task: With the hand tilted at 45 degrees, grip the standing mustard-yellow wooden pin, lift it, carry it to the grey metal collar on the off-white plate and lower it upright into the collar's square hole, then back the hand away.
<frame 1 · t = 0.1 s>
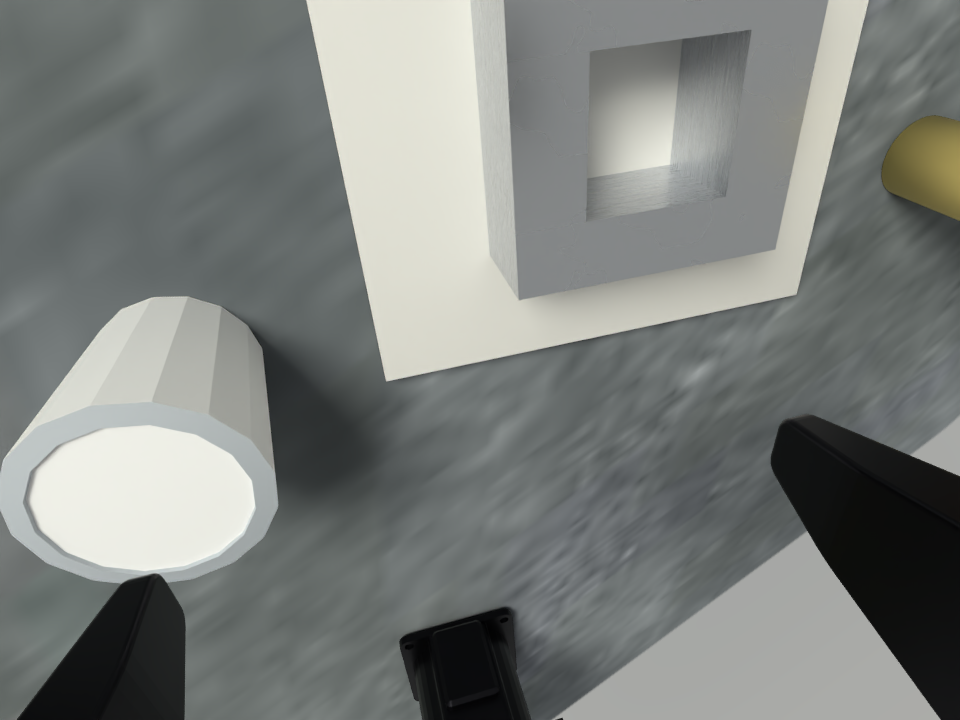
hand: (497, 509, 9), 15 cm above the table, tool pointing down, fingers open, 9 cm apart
base plate: (602, 100, 21), on the table
pin: (917, 156, 25), on the table
white short cylinder: (184, 361, 22), on the table
metal collar: (636, 117, 19), on the base plate, point 2 cm above the table
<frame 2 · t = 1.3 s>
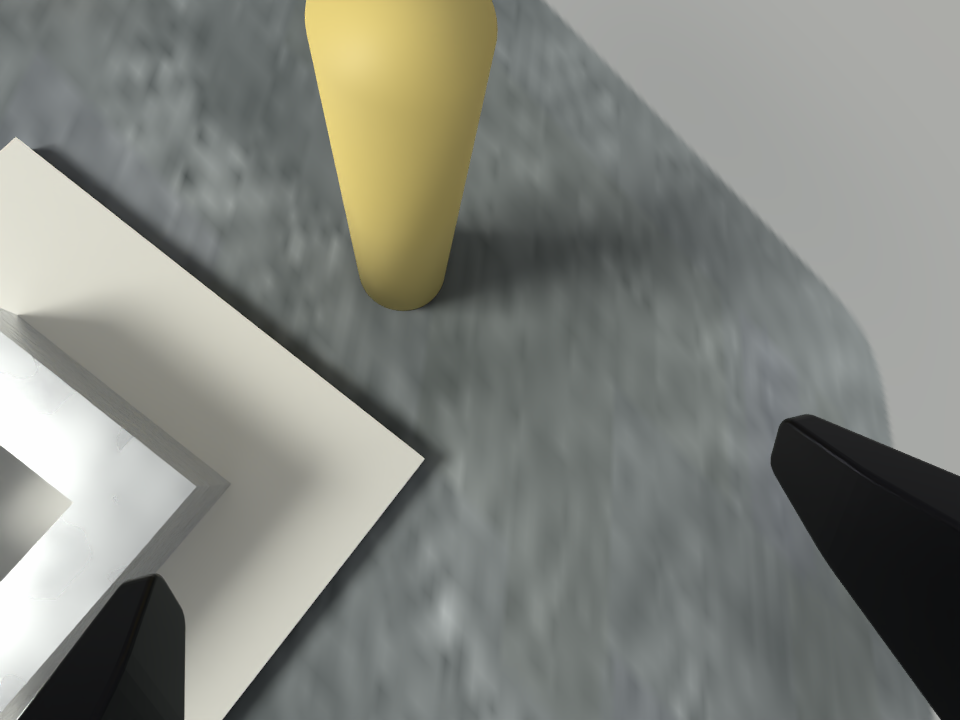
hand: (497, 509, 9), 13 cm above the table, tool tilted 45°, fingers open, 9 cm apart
base plate: (34, 509, 20), on the table
pin: (402, 269, 23), on the table
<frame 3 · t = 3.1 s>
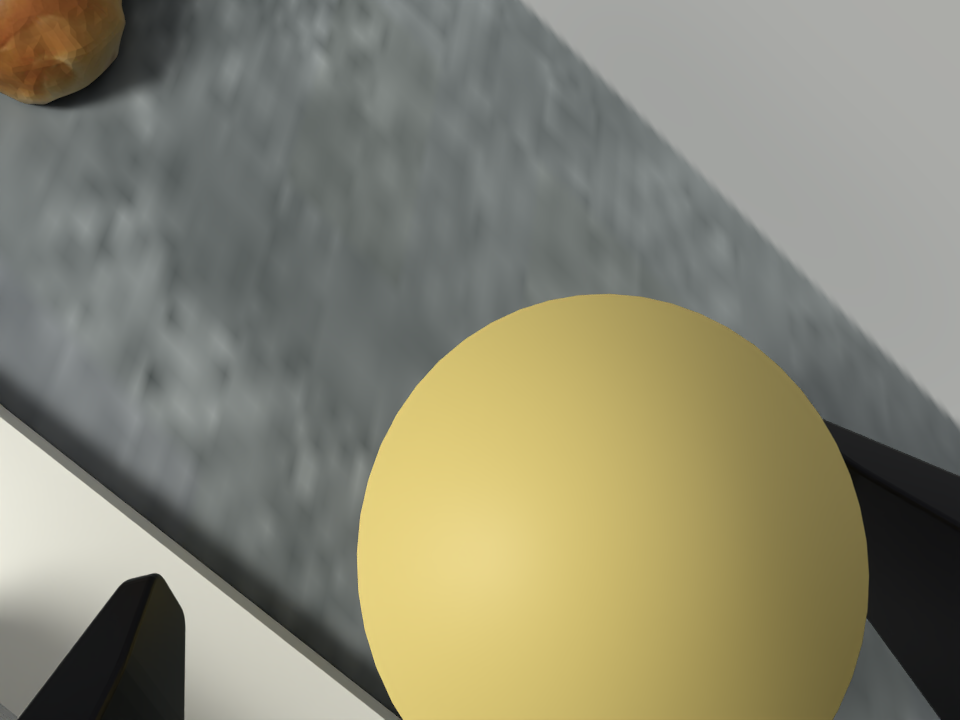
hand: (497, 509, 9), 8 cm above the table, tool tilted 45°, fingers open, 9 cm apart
pin: (454, 499, 16), on the table
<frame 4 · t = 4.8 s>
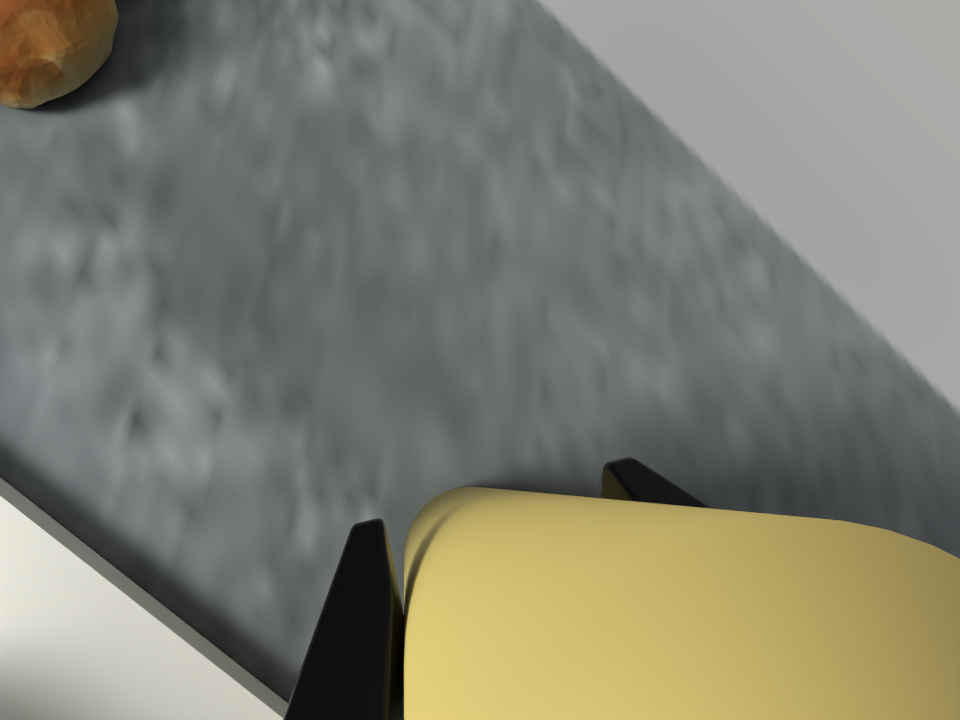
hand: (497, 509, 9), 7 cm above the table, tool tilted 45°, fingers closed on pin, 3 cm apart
pin: (470, 553, 15), on the table, touching gripper
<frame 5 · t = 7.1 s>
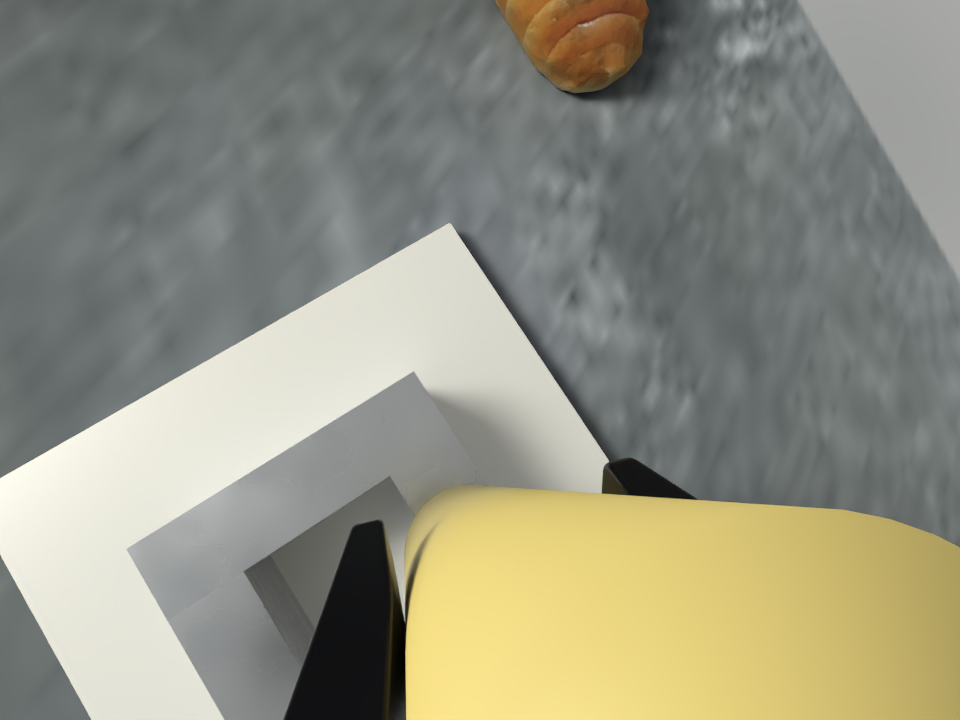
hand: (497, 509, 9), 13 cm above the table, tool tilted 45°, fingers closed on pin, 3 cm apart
base plate: (370, 570, 21), on the table
pin: (470, 552, 15), point 7 cm above the table, touching gripper
metal collar: (366, 583, 19), on the base plate, point 2 cm above the table
when the fingers open (9 cm above the table, at t = 9.6 s): pin drops 1 cm, resting on base plate.
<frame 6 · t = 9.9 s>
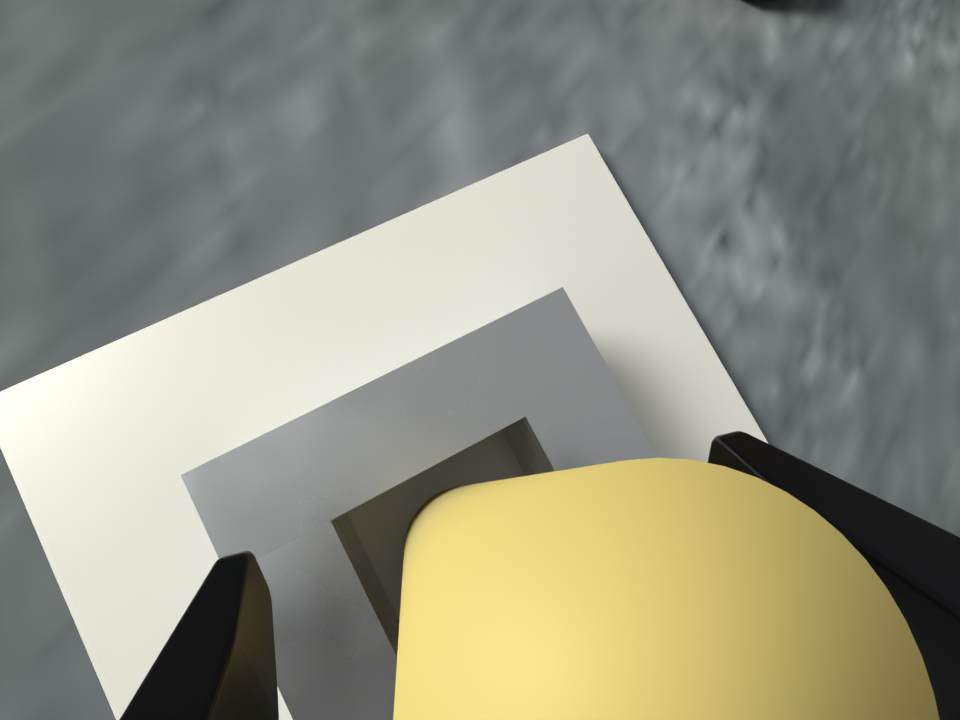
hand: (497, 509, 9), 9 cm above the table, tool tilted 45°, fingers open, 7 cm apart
base plate: (462, 545, 17), on the table
pin: (465, 548, 16), point 1 cm above the table, touching base plate
metal collar: (473, 556, 14), on the base plate, point 2 cm above the table
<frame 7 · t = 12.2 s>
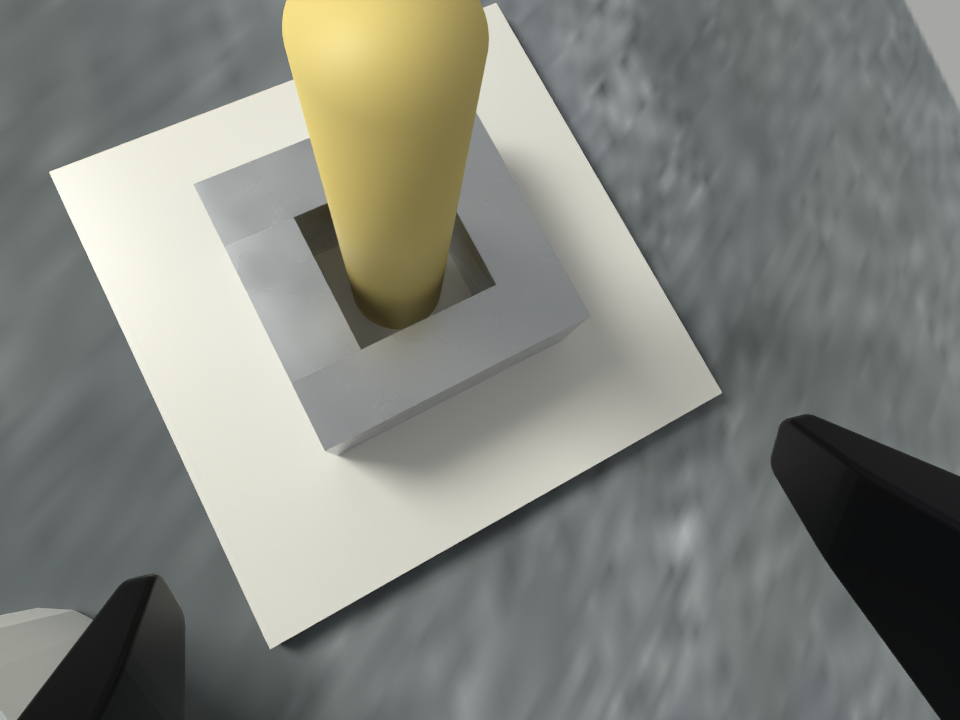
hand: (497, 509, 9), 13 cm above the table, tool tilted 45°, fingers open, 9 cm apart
base plate: (397, 292, 23), on the table
pin: (396, 286, 22), point 1 cm above the table, touching base plate
white short cylinder: (40, 700, 19), on the table
metal collar: (396, 270, 21), on the base plate, point 2 cm above the table
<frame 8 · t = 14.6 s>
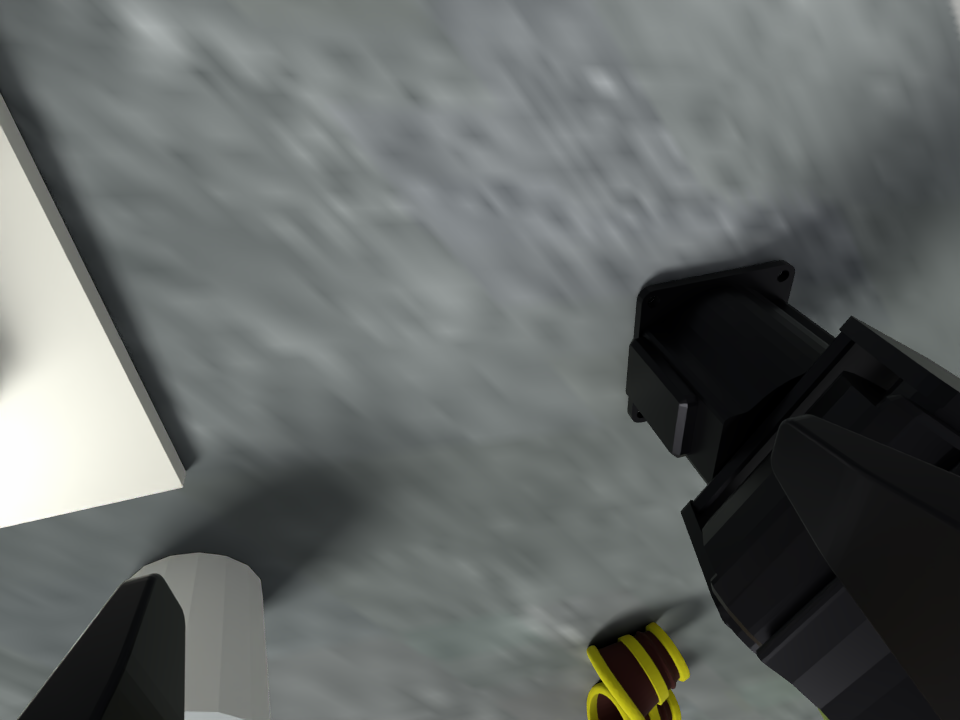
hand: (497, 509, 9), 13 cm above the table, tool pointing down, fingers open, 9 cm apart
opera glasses: (619, 658, 40), on the table
white short cylinder: (194, 592, 27), on the table
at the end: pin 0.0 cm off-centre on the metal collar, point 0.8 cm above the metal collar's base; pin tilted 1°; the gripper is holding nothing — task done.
